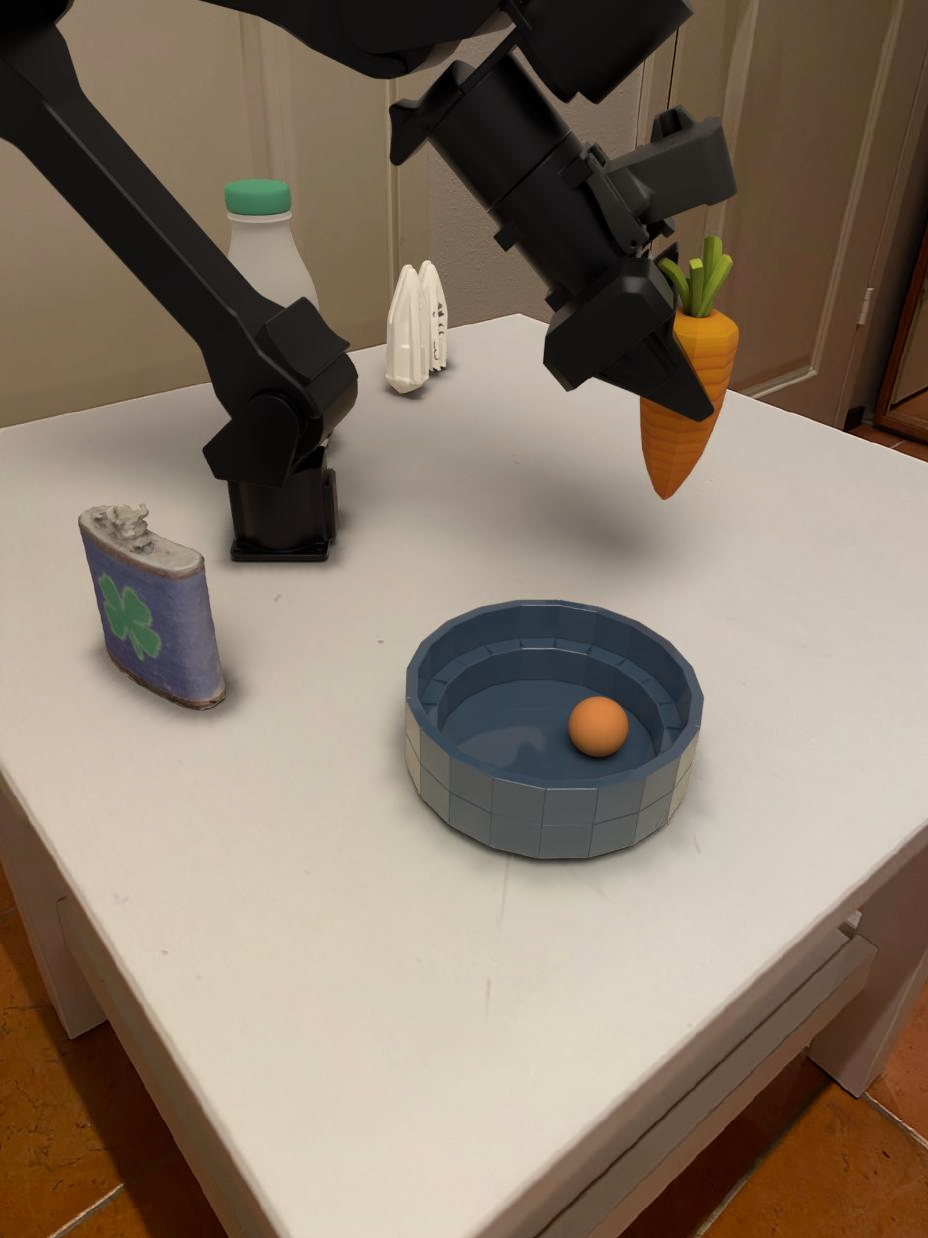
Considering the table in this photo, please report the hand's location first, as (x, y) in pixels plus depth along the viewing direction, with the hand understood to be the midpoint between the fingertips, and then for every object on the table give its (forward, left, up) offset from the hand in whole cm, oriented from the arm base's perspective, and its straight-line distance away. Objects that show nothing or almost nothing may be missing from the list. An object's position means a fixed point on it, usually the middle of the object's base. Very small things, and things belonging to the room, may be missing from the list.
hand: (706, 398), depth 53 cm
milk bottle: (-28, +22, -13) cm, 38 cm away
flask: (-31, -8, -13) cm, 35 cm away
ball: (-7, -15, -11) cm, 20 cm away
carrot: (-1, 0, -7) cm, 7 cm away
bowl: (-10, -15, -13) cm, 22 cm away
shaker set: (-17, +37, -13) cm, 43 cm away
